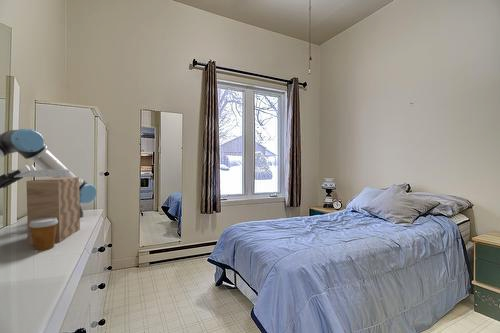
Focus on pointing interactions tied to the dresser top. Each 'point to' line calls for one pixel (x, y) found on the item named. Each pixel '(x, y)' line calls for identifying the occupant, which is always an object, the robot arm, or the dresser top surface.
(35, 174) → the steel bar
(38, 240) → the disposable coffee cup
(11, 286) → the dresser top surface
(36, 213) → the walnut shelf
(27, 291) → the dresser top surface
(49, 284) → the dresser top surface
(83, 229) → the dresser top surface
